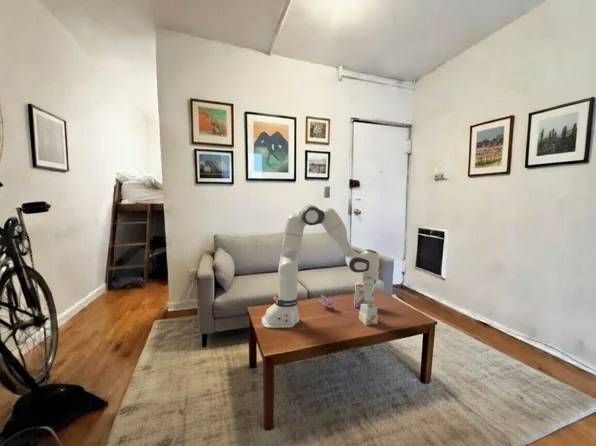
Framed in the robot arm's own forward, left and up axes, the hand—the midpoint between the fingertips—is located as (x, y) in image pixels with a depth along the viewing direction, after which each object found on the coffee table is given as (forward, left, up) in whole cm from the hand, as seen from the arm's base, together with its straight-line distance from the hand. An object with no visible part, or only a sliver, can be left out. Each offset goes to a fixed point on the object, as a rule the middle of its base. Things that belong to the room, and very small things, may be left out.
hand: (369, 299), depth 161 cm
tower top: (0, 0, -9) cm, 9 cm away
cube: (0, 0, -2) cm, 2 cm away
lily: (-18, +22, -14) cm, 31 cm away
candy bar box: (+7, +19, -14) cm, 24 cm away
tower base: (0, 0, -14) cm, 14 cm away
